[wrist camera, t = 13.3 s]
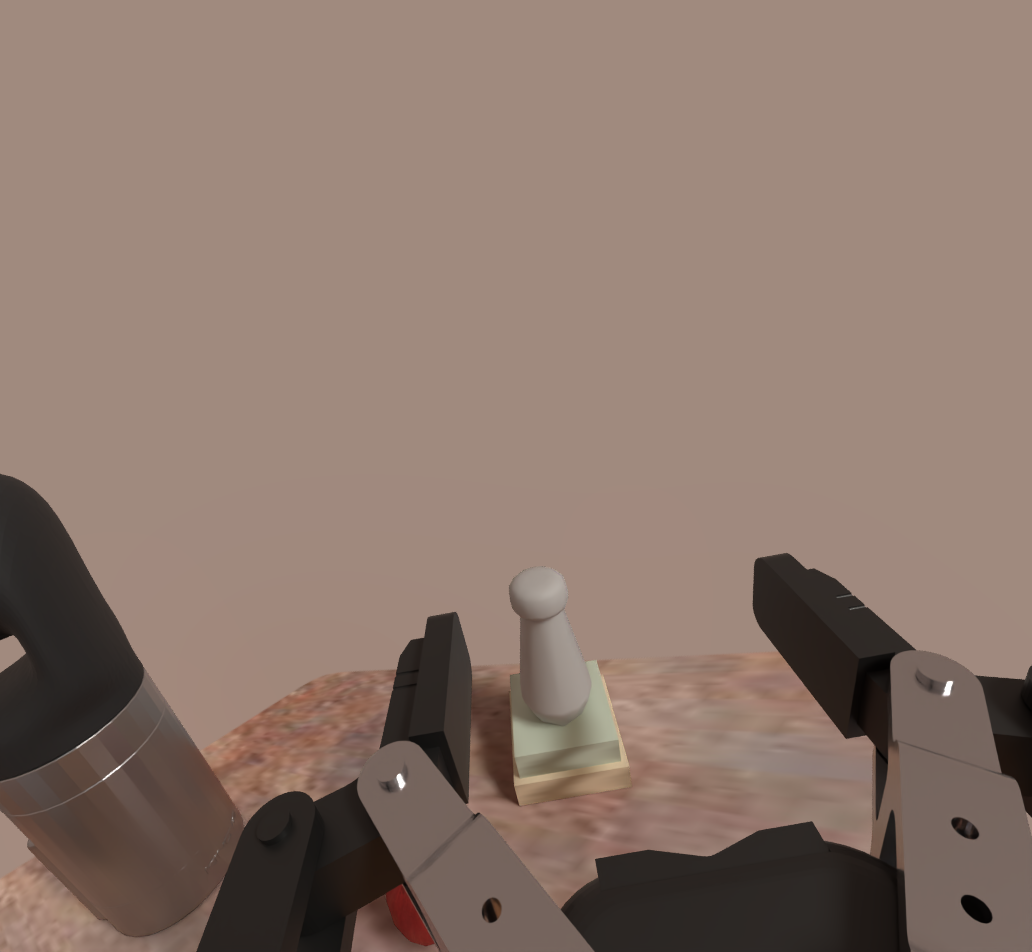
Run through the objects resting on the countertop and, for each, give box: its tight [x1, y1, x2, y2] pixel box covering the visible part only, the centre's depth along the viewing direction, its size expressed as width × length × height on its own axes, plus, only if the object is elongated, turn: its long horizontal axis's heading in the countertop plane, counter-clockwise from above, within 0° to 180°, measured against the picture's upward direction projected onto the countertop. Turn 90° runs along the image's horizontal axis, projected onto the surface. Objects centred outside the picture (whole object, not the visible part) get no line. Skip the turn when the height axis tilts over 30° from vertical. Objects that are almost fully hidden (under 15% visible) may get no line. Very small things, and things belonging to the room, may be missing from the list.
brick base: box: [509, 660, 632, 806], centre depth 41 cm, size 9×9×5 cm
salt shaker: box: [509, 566, 592, 726], centre depth 37 cm, size 6×6×13 cm
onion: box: [386, 884, 435, 946], centre depth 31 cm, size 6×6×8 cm
